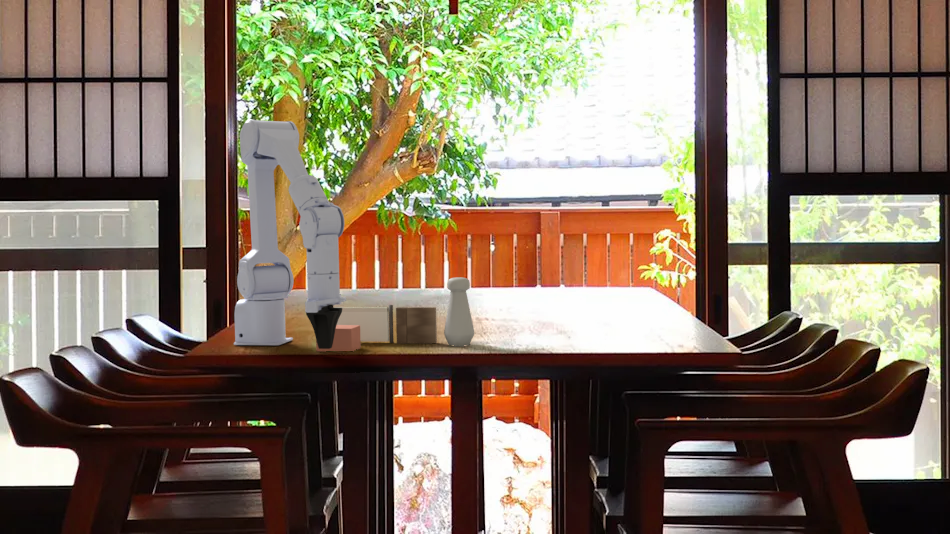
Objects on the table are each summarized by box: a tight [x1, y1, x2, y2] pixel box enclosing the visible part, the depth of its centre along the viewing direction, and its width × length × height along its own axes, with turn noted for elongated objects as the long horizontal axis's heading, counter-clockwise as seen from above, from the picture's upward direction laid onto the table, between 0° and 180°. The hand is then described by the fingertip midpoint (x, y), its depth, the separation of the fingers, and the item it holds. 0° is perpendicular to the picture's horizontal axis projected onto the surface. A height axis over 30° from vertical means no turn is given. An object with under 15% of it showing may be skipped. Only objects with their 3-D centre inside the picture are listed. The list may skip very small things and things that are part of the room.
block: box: [315, 325, 362, 352], centre depth 177 cm, size 7×5×4 cm
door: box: [333, 306, 390, 343], centre depth 186 cm, size 11×1×7 cm, turn 81°
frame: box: [333, 304, 438, 345], centre depth 185 cm, size 23×2×8 cm, turn 81°
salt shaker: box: [443, 276, 475, 347], centre depth 180 cm, size 6×6×13 cm
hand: (325, 348), depth 169 cm, fingers closed
